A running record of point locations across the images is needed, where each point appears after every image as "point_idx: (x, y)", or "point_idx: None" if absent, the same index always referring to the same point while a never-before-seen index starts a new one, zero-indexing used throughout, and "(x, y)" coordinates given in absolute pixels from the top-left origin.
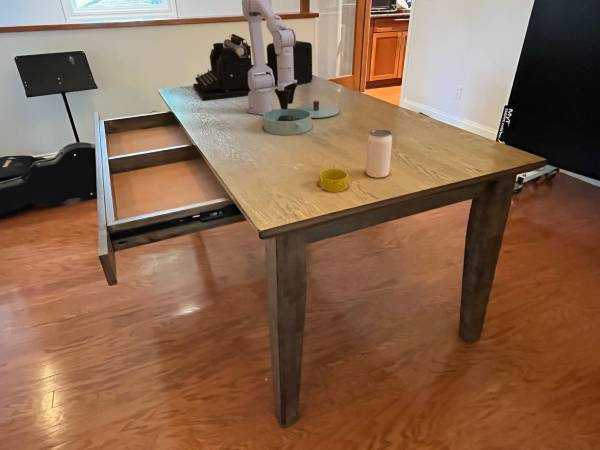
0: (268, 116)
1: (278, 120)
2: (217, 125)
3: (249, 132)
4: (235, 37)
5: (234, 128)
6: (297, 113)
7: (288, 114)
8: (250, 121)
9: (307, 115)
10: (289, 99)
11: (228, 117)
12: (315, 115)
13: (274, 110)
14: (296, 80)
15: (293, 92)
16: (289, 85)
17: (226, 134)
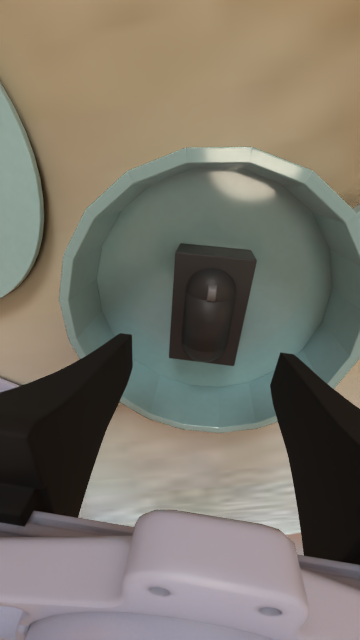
0: (168, 402)
1: (228, 356)
2: (195, 500)
3: (274, 424)
4: None
5: (225, 465)
6: (83, 275)
7: (91, 321)
8: (141, 434)
9: (122, 200)
10: (121, 370)
11: (111, 486)
12: (8, 159)
13: (124, 396)
14: (194, 589)
15: (92, 381)
16: (57, 484)
17: (290, 476)
